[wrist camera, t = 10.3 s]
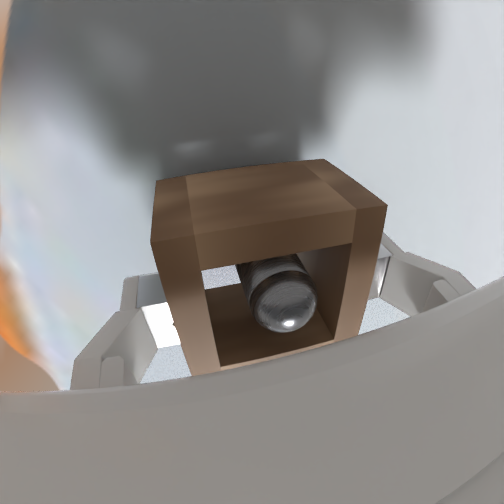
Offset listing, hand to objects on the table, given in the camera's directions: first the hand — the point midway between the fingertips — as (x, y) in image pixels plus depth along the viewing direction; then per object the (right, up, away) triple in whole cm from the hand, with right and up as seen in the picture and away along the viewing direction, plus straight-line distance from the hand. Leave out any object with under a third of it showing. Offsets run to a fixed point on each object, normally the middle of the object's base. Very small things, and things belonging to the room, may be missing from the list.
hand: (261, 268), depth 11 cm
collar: (0, +1, +1) cm, 2 cm away
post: (-1, +2, +3) cm, 4 cm away
